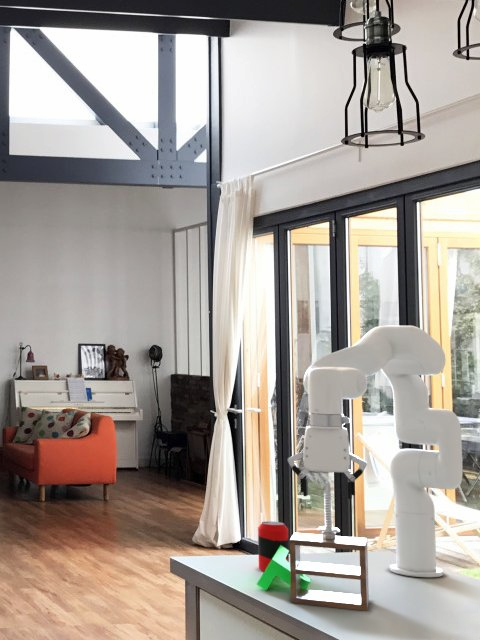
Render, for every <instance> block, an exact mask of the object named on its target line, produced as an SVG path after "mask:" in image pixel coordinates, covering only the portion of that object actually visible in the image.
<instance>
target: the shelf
mask: <svg viewBox="0 0 480 640" xmlns="http://www.w3.org/2000/svg"><path fill="white" fill-rule="evenodd" d="M301 547H313V548H323V549H324V548H325V549H336V550H347V551H348V550H349V551H358V552H359V566H358V565H357V566H355V565H347V564H346V565H345V564H334V563H324V562H323V563H322V562H311V561H301ZM368 553H369V552H368V538H367V537H356V536H341V535H335V539H334V540H327V539H323V538H322V534H318V533H317V534H315V533H306V532H305V533H301V532H294V533H293V534H292V535H291V537H290V539H289V563H290V579H291V585H290V603H291V604H296V605H297V604H298V605H307V606H318V607H325V608H326V607H329V608H336V609H346V610H353V611H354V610H355V611H363V612H364V611H365V612H368V608H369V602H370V595H369V594H370V593H369V588H370V587H369V560H368V559H369V555H368ZM301 574H304V575H307V576H314V577H326V578H327V577H328V578H335V579H336V578H337V579H348V580H358V581H359V583H360V594H355V593H345V592H335V591H324V590H314V589H301Z"/></svg>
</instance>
